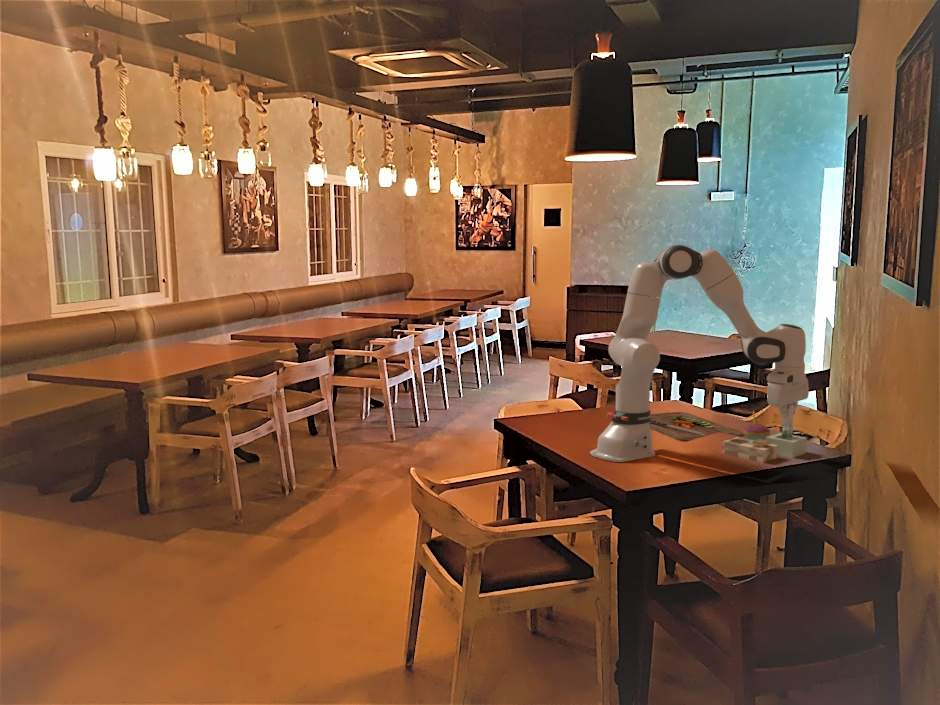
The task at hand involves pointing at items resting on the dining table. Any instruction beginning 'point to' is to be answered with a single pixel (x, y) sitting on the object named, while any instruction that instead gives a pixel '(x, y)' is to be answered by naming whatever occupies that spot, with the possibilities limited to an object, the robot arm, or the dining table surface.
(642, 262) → the robot arm
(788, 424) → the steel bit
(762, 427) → the cupcake
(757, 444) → the drift key
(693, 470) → the dining table surface
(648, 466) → the dining table surface
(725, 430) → the chopping board
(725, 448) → the socket block
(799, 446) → the bit rack
